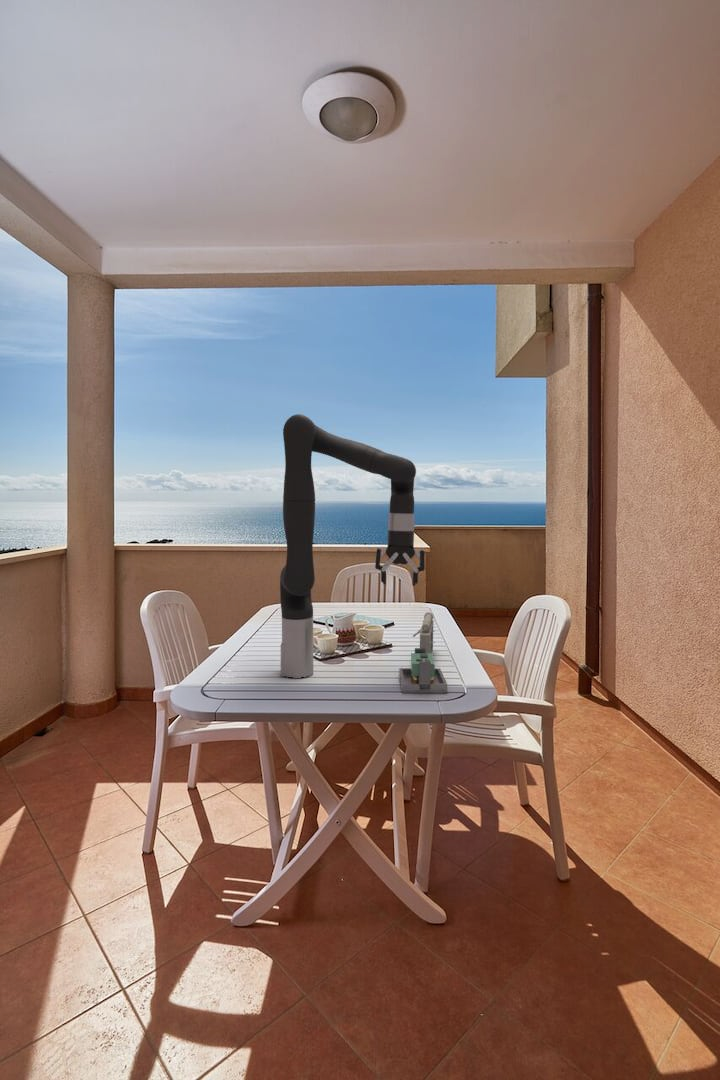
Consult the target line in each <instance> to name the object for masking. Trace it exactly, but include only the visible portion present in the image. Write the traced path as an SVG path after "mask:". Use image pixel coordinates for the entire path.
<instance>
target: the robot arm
mask: <svg viewBox="0 0 720 1080" xmlns="http://www.w3.org/2000/svg"><path fill="white" fill-rule="evenodd" d="M282 432H283V433H282V434H283V435H282V437H283V446H284V460H285V461H284V463H285V467H284V468H285V469H284V481H283V496H282V500H283V501H282V518H283V529H284V536H285V540H286V558H285V559H286V561H285V565H284V566H283V567H282V569H281V572H280V576H279V585H280V586H279V592H280V595H279V596H280V607H281V608H280V609H281V644H280V677H285V676H286V677H285V678H288V677H293V678H292V679H302V678H301V677H304V678H307V676H308V677H310V676H312V675H313V674H314V607H313V602H312V589H313V587H314V585H315V580H316V579H315V578H316V577H315V568H314V567H315V565H314V557H313V556H314V554H313V549H314V548H313V544H314V543H313V542H314V533H315V520H316V519H315V517H316V492H315V491H316V490H315V484H314V475H313V471H312V455H313V454H312V453H317V454H323V455H324V456H325V455H326V456H328V457H330V458H334V459H336V460H338V461H341V462H343V463H346V464H348V465H351V466H352V467H355V468H357V469H359V470H362V471H366V472H367V473H370V474H373V475H379V476H382V477H384V478H386V479H388V480H390V499H389V513H388V514H389V515H388V516H389V517H388V524H387V547H386V549H385V548H380V547H377V548H376V555H375V563H374V564H375V565H374V567H375V569H376V570H379V571H380V573H381V574H380V582H381V583H382V584H383V585H386V582H387V569H388V568H389V567H390V565H392V564H394V565H399V564H401V565H407V564H408V565H409V566H410V568H411V569H412V570H413V571H412V582H411V583H412V586H414V587H415V586H416V585H417V584H418V582H419V581H418V580H419V573H420V572H424V571H425V570H426V569H425V568H426V567H425V566H426V565H425V563H426V562H425V561H426V560H425V551H424V550H423V549H420V550H417V549H416V550H415V547H414V540H415V515H414V513H415V498H414V497H415V496H414V490H415V489H414V487H415V477H416V474H417V468H416V465H415V464H414V463H413V462H412V461H411V460H410V459H408V458H404V457H403V456H399V455H396V454H392V453H388V452H385V451H383V450H381V449H378V448H376V447H373V446H371V445H368V444H365V443H363V442H359V441H356V440H352V439H347V438H345V437H341V436H338V435H335V434H333V433H330V432H328V431H326V430H324V429H323V428H322V427H319V426H317V425H316V424H315V423H314V422H313V420H312V419H310V418H309V417H307V416H306V415H304V414H300V413H299V414H293V415H291V416H290V417H289V418H288V419H286V421H285V423H284V425H283V429H282ZM385 554H386V556H387V557H388V559H387V560H386V561H385V563H384V564H383V565H382V564H381V557H383V556H384V555H385ZM415 555H416V556H417V558H418V559H419V566H416V564H415V563H414V561H413V560H412V559H413V557H414V556H415Z"/></svg>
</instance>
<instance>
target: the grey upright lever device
mask: <svg viewBox="0 0 720 1080" xmlns="http://www.w3.org/2000/svg"><path fill="white" fill-rule="evenodd" d="M435 632H436V630H434V613H433V612H432V611H426V612H425V613H424V616H423V621H422V625H421V628H420V629H419V630H418V631H417V632H416V633H414V634H413V635H412V637H413V638H415V637H416V636H417V635H418V634H419V648H425V653H428V654H432V655H435V652H434V644H436V642H434V633H435ZM434 659H435V658H434V657H433V660H434Z"/></svg>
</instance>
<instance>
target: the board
mask: <svg viewBox="0 0 720 1080" xmlns="http://www.w3.org/2000/svg"><path fill="white" fill-rule="evenodd" d="M433 655H434V654H428V653H415V652H411V653H410V668H411V670H412V676H419V661H430V662H431V677H434V668H436V666H435V660H434V659H433V658H434V656H433Z"/></svg>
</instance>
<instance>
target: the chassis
mask: <svg viewBox="0 0 720 1080" xmlns="http://www.w3.org/2000/svg"><path fill="white" fill-rule="evenodd" d="M414 653H425V648H420V647H415V648H414ZM399 677H400V679H399V683H400V682H401V684H400V687H401V686H402V689H401V693H402V694H433V695H434V694H437V695H438V694H439V695H440V694H443V695H444V694H447V695H448V681H447V680H446V678H445V676H444V674H443V672H442V669H441V668H438V667H437V668H436V667H434V677H431V662H430V661H419V676H412V670H411V667H407V668H406V667H404V668H403V667H399V668H398V678H399Z"/></svg>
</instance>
